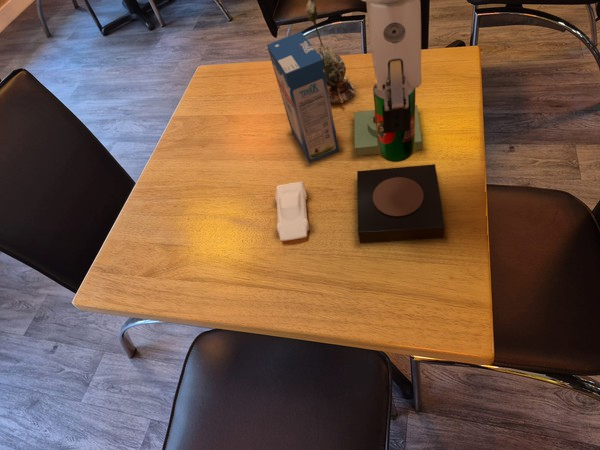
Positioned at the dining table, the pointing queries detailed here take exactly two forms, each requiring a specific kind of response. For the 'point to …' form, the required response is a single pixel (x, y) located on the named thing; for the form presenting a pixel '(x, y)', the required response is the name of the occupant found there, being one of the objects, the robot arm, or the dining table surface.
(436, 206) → the stand
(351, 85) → the plant with pod
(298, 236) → the toy car
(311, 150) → the milk carton
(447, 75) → the dining table surface
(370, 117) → the button box
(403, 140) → the soda can
